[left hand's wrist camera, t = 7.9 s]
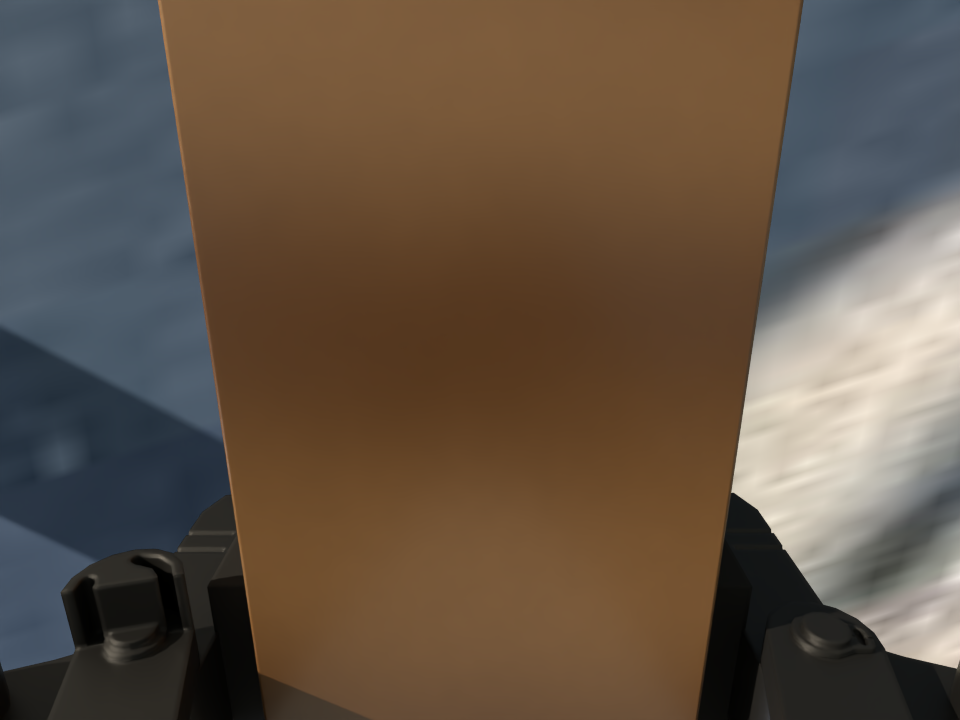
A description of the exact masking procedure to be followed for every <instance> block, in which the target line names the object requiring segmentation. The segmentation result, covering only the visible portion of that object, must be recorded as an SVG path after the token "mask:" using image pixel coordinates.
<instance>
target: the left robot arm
mask: <svg viewBox="0 0 960 720" xmlns="http://www.w3.org/2000/svg"><path fill="white" fill-rule="evenodd" d="M61 596H62V600H63V603H64V607H65V611H66V615H67V619H68V622H69V626H70V630H71V634H72V638H73V641H74V645H75V652H74V654H73V655H69V656H66V657H63V658H59V659H56V660H52V661H48V662H43V663H39V664H34V665H30V666H26V667H21V668H17V669H13V670H8V671H4V672H3V669H2V666H1V663H0V720H265V717H264V710H263V704H262V697H261V690H260V683H259V677H258V670H257V663H256V656H255V650H254V643H253V636H252V630H251V623H250V616H249V609H248V603H247V596H246V589H245V582H244V576H243V569H242V562H241V555H240V549H239V542H238V535H237V529H236V522H235V515H234V508H233V502H232V495H225V496H224V497H223V498H221V499H220V500H218V501H217V502H216V503H214V504H213V505H211V506H210V507H209V508H207V509H206V510H204V511H203V512H202V513H201V515H200V516H199V518H198V519H197V521H196V522H195V524H194V525H193V526H192V528H191V529H190V531H189V535H186V537H185V538H184V540H183V541H182V542H181V544H180V545H179V547H178V551H177V552H175V553H174V554H173V553H171V552H167V551H163V550H159V549H139V550H132V551H127V552H123V553H119V554H115V555H111V556H109V557H107V558H105V559H102V560H100V561H98V562H96V563H93V564H91V565H89V566H88V567H87V568H85V569H84V570H82V571H81V572H80V573H78V574H77V575H75V576H74V577H73V578H71V580H70V581H69V582H68V584H67V585H66V586H65V587H64V589H63V590H62V591H61ZM698 720H960V661H959V665H958V668H957V669H956V668H951V667H947V666H942V665H938V664H934V663H929V662H925V661H921V660H916V659H912V658H907V657H903V656H900V655H897V654H893V653H890V652H887V651H885V648H884V647H883V645H882V644H881V642H880V641H879V639H878V638H877V636H876V635H875V633H874V632H873V631H871V630H870V629H869V628H868V627H866V626H865V625H864V624H863V623H862V622H860V621H859V620H858V619H856V618H854V617H852V616H850V615H848V614H846V613H844V612H843V611H841V610H839V609H837V608H833V607H830V606H826V605H823V604H822V602H821V601H820V599H819V598H818V596H817V595H816V594H815V592H814V591H813V589H812V588H811V586H810V585H809V583H808V582H807V581H806V579H805V578H804V576H803V575H802V573H801V572H800V570H799V569H798V568H797V566H796V565H795V563H794V562H793V560H792V559H791V557H790V556H789V555H788V553H787V552H786V550H783V549H782V544H781V543H780V542H779V540H778V539H777V537H776V536H775V534H774V533H771V528H770V527H769V526H768V524H767V523H766V521H765V520H764V518H763V517H762V515H761V514H760V513H759V511H758V510H757V509H756V508H754V507H753V506H752V505H750V504H749V503H747V502H746V501H745V500H743V499H742V498H740V497H739V496H737V495H736V494H735V493H731V497H730V503H729V510H728V517H727V524H726V531H725V537H724V544H723V551H722V558H721V565H720V571H719V578H718V585H717V592H716V599H715V605H714V612H713V619H712V626H711V633H710V639H709V646H708V653H707V660H706V667H705V673H704V680H703V687H702V694H701V701H700V707H699V714H698Z"/></svg>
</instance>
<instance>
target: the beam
mask: <svg viewBox="0 0 960 720" xmlns="http://www.w3.org/2000/svg"><path fill="white" fill-rule="evenodd" d="M158 3H159V10H160V17H161V24H162V30H163V37H164V44H165V51H166V57H167V64H168V71H169V77H170V84H171V91H172V98H173V104H174V111H175V118H176V125H177V131H178V138H179V145H180V152H181V158H182V165H183V172H184V178H185V185H186V192H187V199H188V205H189V212H190V219H191V226H192V232H193V239H194V246H195V253H196V259H197V266H198V273H199V279H200V286H201V293H202V300H203V306H204V313H205V320H206V327H207V333H208V340H209V347H210V354H211V360H212V367H213V374H214V380H215V387H216V394H217V401H218V407H219V414H220V421H221V428H222V434H223V441H224V448H225V454H226V461H227V468H228V475H229V481H230V488H231V495H232V502H233V508H234V515H235V522H236V529H237V535H238V542H239V549H240V555H241V562H242V569H243V576H244V582H245V589H246V596H247V603H248V609H249V616H250V623H251V630H252V636H253V643H254V650H255V656H256V663H257V670H258V677H259V683H260V690H261V697H262V704H263V710H264V717H265V720H698V714H699V707H700V701H701V694H702V687H703V680H704V673H705V667H706V660H707V653H708V646H709V639H710V633H711V626H712V619H713V612H714V605H715V599H716V592H717V585H718V578H719V571H720V565H721V558H722V551H723V544H724V537H725V531H726V524H727V517H728V510H729V503H730V497H731V490H732V483H733V476H734V469H735V463H736V456H737V449H738V442H739V435H740V429H741V422H742V415H743V408H744V401H745V395H746V388H747V381H748V374H749V367H750V361H751V354H752V347H753V340H754V333H755V327H756V320H757V313H758V306H759V299H760V293H761V286H762V279H763V272H764V266H765V259H766V252H767V245H768V238H769V232H770V225H771V218H772V211H773V204H774V198H775V191H776V184H777V177H778V170H779V164H780V157H781V150H782V143H783V136H784V130H785V123H786V116H787V109H788V102H789V96H790V89H791V82H792V75H793V68H794V62H795V55H796V48H797V41H798V34H799V28H800V21H801V14H802V7H803V0H158Z"/></svg>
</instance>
